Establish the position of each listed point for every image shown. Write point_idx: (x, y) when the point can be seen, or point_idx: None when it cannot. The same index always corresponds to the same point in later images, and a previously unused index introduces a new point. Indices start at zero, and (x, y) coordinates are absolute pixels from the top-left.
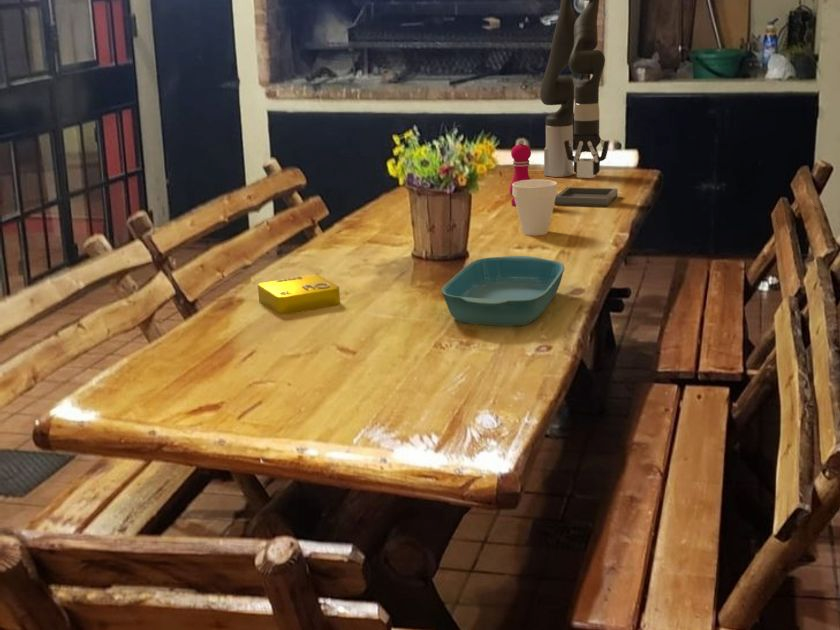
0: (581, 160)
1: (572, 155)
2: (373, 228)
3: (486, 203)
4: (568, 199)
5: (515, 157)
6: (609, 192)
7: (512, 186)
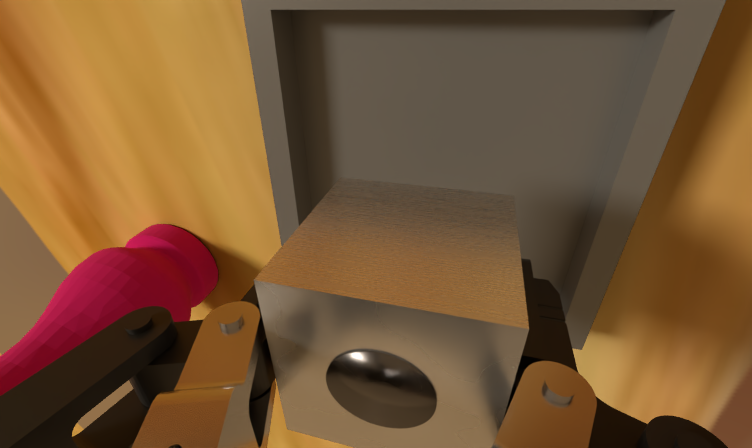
0: (325, 414)
1: (147, 364)
2: None
3: (59, 238)
4: None
5: None
6: (618, 171)
7: None
